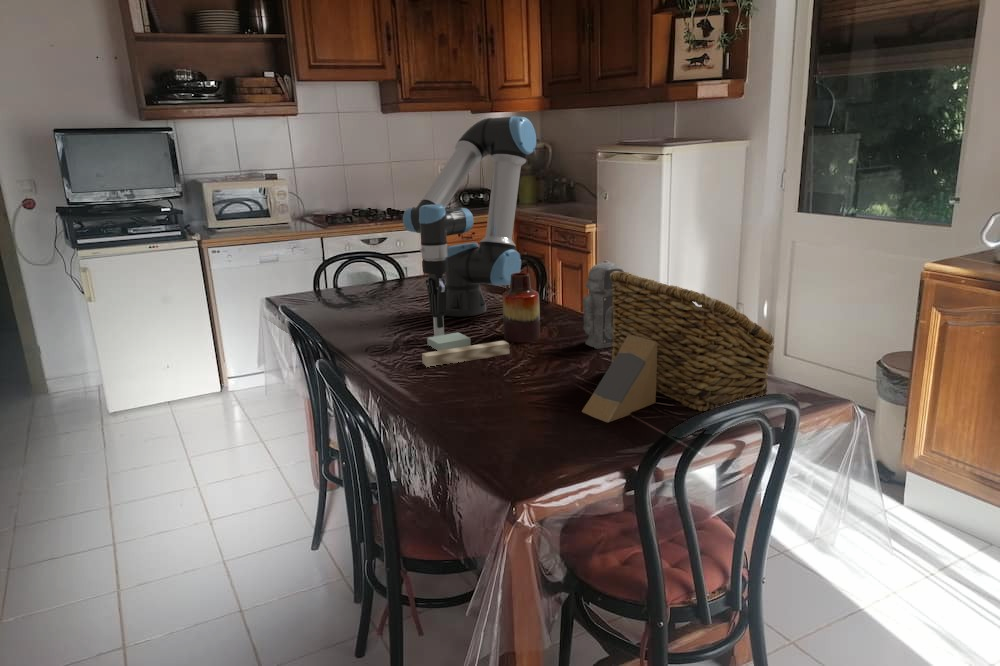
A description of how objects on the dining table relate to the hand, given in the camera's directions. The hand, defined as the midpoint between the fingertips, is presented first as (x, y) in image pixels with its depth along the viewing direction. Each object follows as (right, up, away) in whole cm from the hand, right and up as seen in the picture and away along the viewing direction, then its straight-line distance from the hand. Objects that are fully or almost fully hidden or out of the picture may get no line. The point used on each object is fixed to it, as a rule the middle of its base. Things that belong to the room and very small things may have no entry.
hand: (439, 337), depth 213 cm
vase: (+25, -1, 0) cm, 25 cm away
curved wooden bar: (+9, -7, -19) cm, 22 cm away
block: (+3, -4, -6) cm, 8 cm away
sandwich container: (+44, -16, -56) cm, 73 cm away
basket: (+64, -11, -42) cm, 77 cm away
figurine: (+48, -3, -9) cm, 49 cm away
